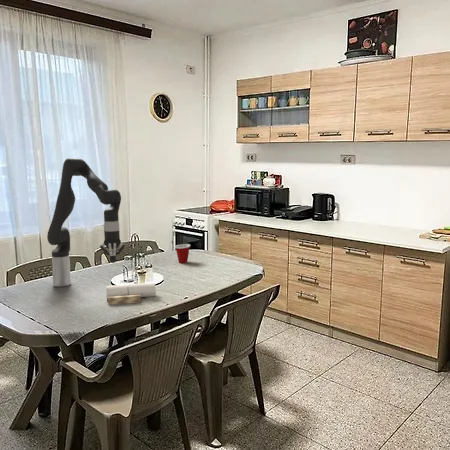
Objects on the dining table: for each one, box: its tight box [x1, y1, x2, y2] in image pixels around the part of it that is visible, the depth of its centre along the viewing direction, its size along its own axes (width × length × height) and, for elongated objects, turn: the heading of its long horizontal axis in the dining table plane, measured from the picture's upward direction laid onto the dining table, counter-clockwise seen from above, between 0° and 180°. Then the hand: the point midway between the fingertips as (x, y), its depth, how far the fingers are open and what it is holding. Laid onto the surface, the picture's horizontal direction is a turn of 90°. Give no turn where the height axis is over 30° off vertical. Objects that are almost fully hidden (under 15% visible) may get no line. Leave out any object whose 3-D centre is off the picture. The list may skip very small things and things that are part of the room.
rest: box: [108, 295, 142, 305], centre depth 232 cm, size 16×14×4 cm
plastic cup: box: [174, 243, 191, 264], centre depth 303 cm, size 11×11×12 cm
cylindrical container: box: [105, 282, 157, 300], centre depth 233 cm, size 7×7×25 cm
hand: (113, 262), depth 227 cm, fingers closed
